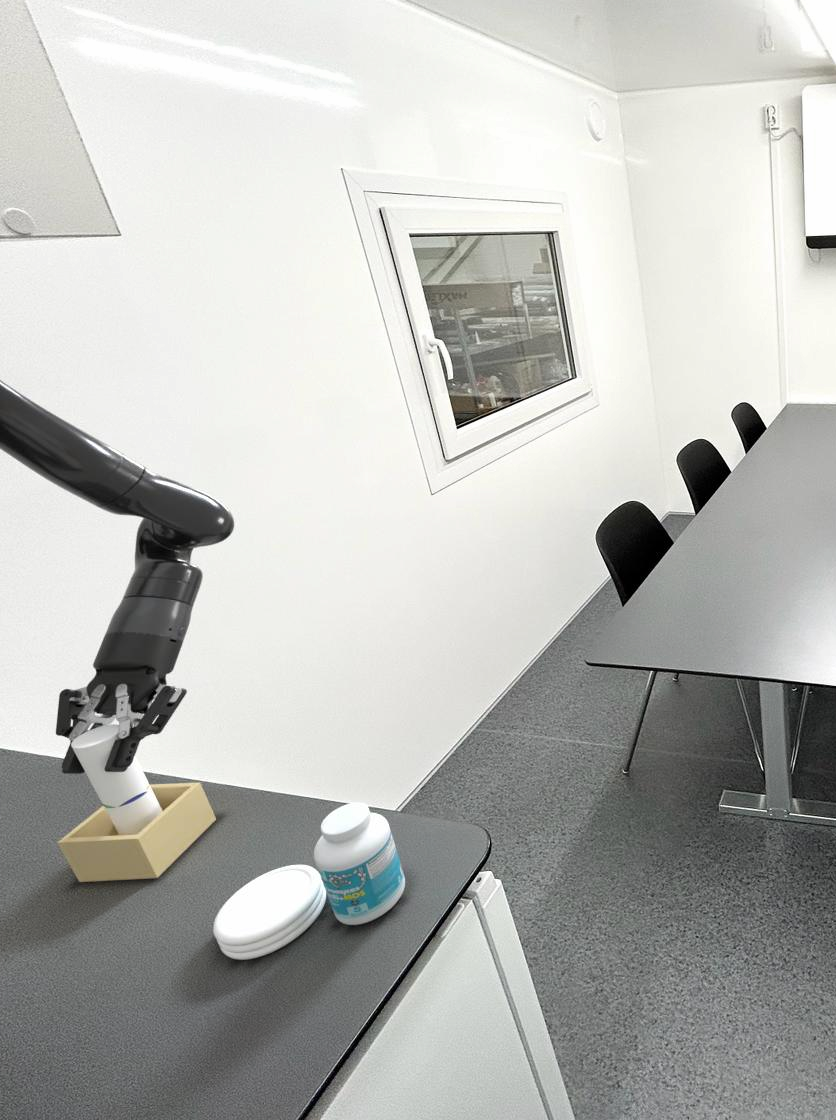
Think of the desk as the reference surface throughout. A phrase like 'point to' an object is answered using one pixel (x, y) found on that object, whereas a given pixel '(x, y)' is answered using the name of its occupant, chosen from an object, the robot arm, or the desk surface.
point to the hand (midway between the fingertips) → (94, 771)
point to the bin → (139, 837)
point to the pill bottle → (358, 864)
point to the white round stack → (269, 912)
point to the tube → (117, 782)
